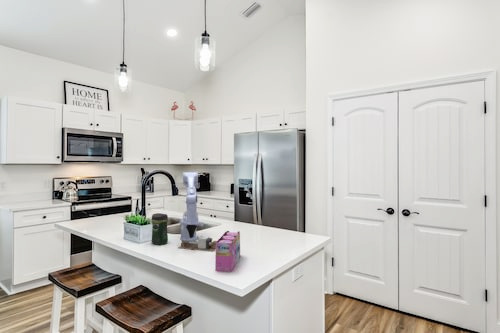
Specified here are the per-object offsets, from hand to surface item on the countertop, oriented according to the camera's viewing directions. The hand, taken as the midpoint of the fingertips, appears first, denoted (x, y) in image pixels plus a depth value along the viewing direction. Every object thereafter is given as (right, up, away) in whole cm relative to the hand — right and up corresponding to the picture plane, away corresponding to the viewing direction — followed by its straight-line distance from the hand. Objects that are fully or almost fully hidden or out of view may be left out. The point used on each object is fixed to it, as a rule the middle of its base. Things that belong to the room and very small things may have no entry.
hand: (191, 237), depth 171 cm
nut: (+11, -6, -3) cm, 12 cm away
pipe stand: (+4, -6, -1) cm, 7 cm away
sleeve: (+8, -6, -2) cm, 10 cm away
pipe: (+4, -4, -1) cm, 6 cm away
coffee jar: (-21, -6, +7) cm, 23 cm away
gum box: (+24, -7, -26) cm, 36 cm away
